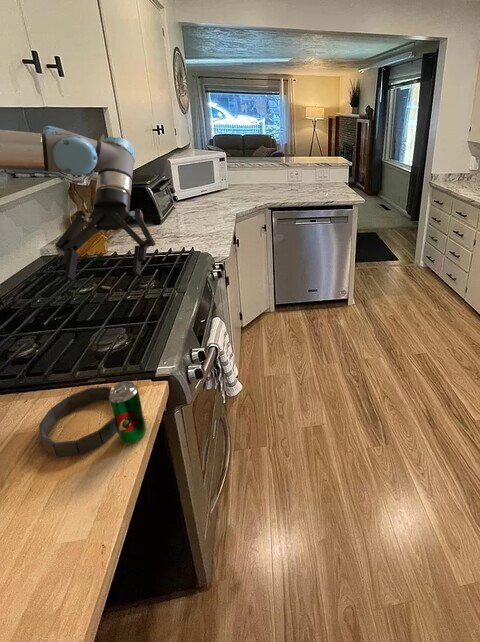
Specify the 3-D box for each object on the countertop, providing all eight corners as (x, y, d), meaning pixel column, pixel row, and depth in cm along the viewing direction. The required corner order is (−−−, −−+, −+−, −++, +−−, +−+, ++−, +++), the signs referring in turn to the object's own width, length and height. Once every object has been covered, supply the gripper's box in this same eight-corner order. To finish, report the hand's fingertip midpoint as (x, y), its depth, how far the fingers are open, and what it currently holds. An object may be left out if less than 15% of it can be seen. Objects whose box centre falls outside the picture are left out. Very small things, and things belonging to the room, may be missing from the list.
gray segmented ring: (26, 441, 72) (21, 428, 70) (94, 391, 84) (91, 379, 83) (77, 468, 67) (72, 454, 65) (140, 410, 79) (138, 398, 78)
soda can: (152, 431, 74) (142, 386, 70) (128, 449, 70) (116, 403, 66) (137, 420, 77) (127, 376, 72) (114, 437, 73) (101, 391, 68)
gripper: (170, 200, 93) (167, 277, 85) (64, 204, 89) (49, 286, 80) (163, 184, 86) (158, 266, 78) (47, 188, 82) (29, 275, 74)
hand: (103, 276), depth 79 cm, fingers open, 13 cm apart
